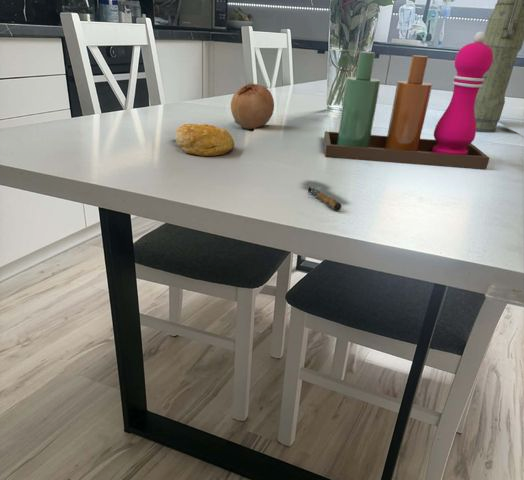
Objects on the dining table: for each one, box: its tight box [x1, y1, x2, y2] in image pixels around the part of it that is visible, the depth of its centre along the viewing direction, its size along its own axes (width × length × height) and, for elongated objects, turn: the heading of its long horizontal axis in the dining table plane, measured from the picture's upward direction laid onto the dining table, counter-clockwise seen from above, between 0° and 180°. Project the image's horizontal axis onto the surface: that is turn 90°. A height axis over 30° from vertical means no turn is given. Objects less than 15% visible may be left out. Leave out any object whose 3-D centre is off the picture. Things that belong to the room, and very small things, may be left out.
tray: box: [323, 130, 491, 171], centre depth 90 cm, size 29×13×3 cm, turn 85°
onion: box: [230, 82, 275, 130], centre depth 104 cm, size 10×9×10 cm
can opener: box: [307, 186, 342, 211], centre depth 67 cm, size 9×2×1 cm, turn 15°
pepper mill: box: [432, 31, 493, 155], centre depth 85 cm, size 7×7×20 cm
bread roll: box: [174, 123, 235, 157], centre depth 86 cm, size 10×11×5 cm
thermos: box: [474, 0, 524, 133], centre depth 113 cm, size 9×12×35 cm
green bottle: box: [337, 51, 381, 147], centre depth 87 cm, size 6×6×16 cm
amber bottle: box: [385, 54, 433, 151], centre depth 86 cm, size 6×6×16 cm
